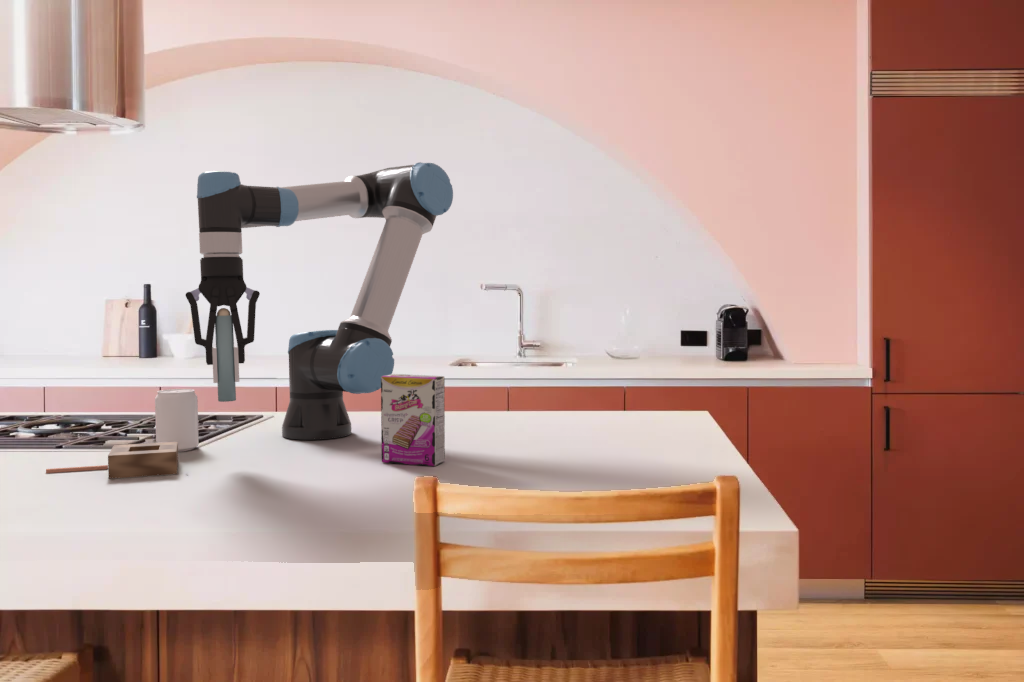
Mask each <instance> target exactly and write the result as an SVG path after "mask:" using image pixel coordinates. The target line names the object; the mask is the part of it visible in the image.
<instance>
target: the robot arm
mask: <svg viewBox="0 0 1024 682" xmlns="http://www.w3.org/2000/svg"><path fill="white" fill-rule="evenodd" d="M196 189H197V190H196V191H197V193H196V199H197V211H198V215H197V216H198V228H199V230H198V231H199V233H198V235H199V236H198V241H199V254H201V255H203V257H201V258H200V259H199V261H200V262H199V263H200V283H199V284H198V288H196V289H195V288H194V290H191V291H187V292H186V293H185V298H186V300H187V301H188V303H189V305H190V307H189V308H190V314H191V321H192V327H193V334H194V335H193V336H194V337H193V338H194V343H195V344H196V345H198V346H201V347H204V349H205V363H206V365H208V366H212V379H213V383H214V384H217V383H218V373H217V348H216V346H213V343H214V334H215V320H216V316H217V312H218V307H223V306H225V307H229V311H230V315H232V319H233V331H234V335H235V339H236V345H234V368H235V383H237V382H238V383H239V382H240V368H239V367H240V364H245V362H246V359H245V357H246V356H245V355H246V354H245V353H246V352H245V347H246V346H247V345H248V344H251V343H254V341H255V329H256V328H255V327H256V308H257V302H258V299H259V298H260V291H258V290H255V289H252V288H249V287H247V284H246V282H245V279H244V259H243V258H242V257H240V255H242V254H243V237H242V236H243V233H242V229H248V228H260V227H276V228H280V227H289V226H292V225H293V224H294V223H295V222H299V221H300V222H302V221H310V220H319V219H324V218H325V219H326V218H334V217H341V216H349V217H351V218H353V219H363V218H379V219H381V218H383V219H385V222H384V226H383V228H382V231H381V234H380V236H379V239H378V242H377V244H376V247H375V250H374V252H373V255H372V258H371V260H370V262H369V266H368V269H367V271H366V274H365V276H364V278H363V281H362V285H361V287H360V290H359V292H358V295H357V297H356V300H355V303H354V306H353V309H352V312H351V314H350V317H349V318H347V319H344V320H342V321H340V323H339V325H338V329H325V330H324V329H323V330H314V331H304V332H298V333H294V334H292V335H291V336H290V338H289V339H288V350H287V354H288V374H289V375H288V376H289V377H288V381H289V385H288V386H289V388H288V389H289V403H288V406H287V410H286V413H285V415H284V419H283V422H282V427H281V431H282V432H281V436H282V437H283V438H285V439H290V440H304V441H305V440H308V441H312V440H314V441H315V440H316V441H317V440H330V439H337V438H343V437H347V436H349V435H351V434H352V422H351V419H350V417H349V413H348V410H347V408H346V404H345V402H344V393H345V392H346V393H350V394H352V395H353V394H356V395H359V394H361V395H362V394H371V393H374V392H376V391H379V390H381V377H382V376H384V375H390V374H393V371H394V366H395V358H394V357H393V356H394V352H393V349H392V348H391V344H392V341H393V339H392V337H391V335H390V334H389V333H390V332H389V329H390V326H391V325H392V324H391V323H392V322H393V318H394V315H395V313H396V310H397V307H398V304H399V302H400V299H401V296H402V293H403V290H404V287H405V285H406V282H407V279H408V276H409V273H410V271H411V269H412V264H413V262H414V260H415V257H416V254H417V251H418V248H419V245H420V243H421V240H422V237H423V235H424V234H427V233H430V232H431V231H432V229H433V227H434V224H435V221H436V219H437V216H442V215H443V214H445V213H447V212H448V211H449V209H450V208H451V206H452V204H453V199H454V189H453V185H452V183H451V179H450V177H449V175H448V174H447V172H446V170H444V169H443V168H442V167H441V166H439V165H438V164H436V163H435V162H433V163H432V162H421V161H420V162H416V163H414V164H408V165H401V166H393V167H387V168H383V169H379V170H375V171H371V172H368V173H363V174H359V175H350V176H348V177H346V178H345V179H344V180H343V181H332V182H322V183H311V184H301V185H289V186H276V187H274V186H262V185H261V186H256V185H247V184H241V180H240V176H239V174H238V173H236V172H232V171H225V170H224V171H222V170H220V171H218V170H213V171H212V170H210V171H204V172H202V173H200V174H199V175H198V177H197V188H196ZM200 294H202V296H203V297H204V298H205V300H206V301H207V302H208V303H209V314H208V321H207V329H206V337H205V338H202V331H201V330H202V329H201V323H200V317H199V315H200V314H199V307H198V301H199V300H200ZM244 294H246V297H245V298H246V299H247V300H248V308H247V327H246V328H247V330H246V337H244V335H243V334H244V333H243V331H242V326H241V325H242V324H241V321H240V316H239V312H238V306H237V303H238V302H239V300H240V299H241V298H242V296H243V295H244Z"/></svg>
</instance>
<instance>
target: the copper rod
mask: <svg viewBox="0 0 1024 682" xmlns="http://www.w3.org/2000/svg"><path fill="white" fill-rule="evenodd" d="M98 470H99V471H101V470H108V464H104V465H88V466H71V467H69V466H68V467H57V468H56V467H54V468H46V470H45V474H52V473H53V474H54V473H67V472H69V473H70V472H82V471H98Z"/></svg>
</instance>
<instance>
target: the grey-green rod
mask: <svg viewBox="0 0 1024 682" xmlns="http://www.w3.org/2000/svg"><path fill="white" fill-rule="evenodd" d="M214 334H215V347H216V348H217V373H218V383H216V384H217V401H218V402H221V403H222V402H223V403H224V402H225V403H226V402H227V403H229V402H235V401H237V393H236V392H237V391H236V382H235V368H234V346H235V342H234V340H235V339H234V335H235V334H234V325H233V319H232V315H231V311H230V309H228V308H227V307H221V308H219V309H217V312H216V320H215V328H214Z"/></svg>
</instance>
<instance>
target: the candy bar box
mask: <svg viewBox="0 0 1024 682" xmlns="http://www.w3.org/2000/svg"><path fill="white" fill-rule="evenodd" d="M445 380H446V379H445V376H442V375H425V374H424V375H423V374H421V375H420V374H406V373H405V374H403V373H392V374H390V375H384V376H382V377H381V388H380V405H381V406H380V407H381V408H380V414H381V415H380V416H381V417H380V418H381V421H380V422H381V431H380V433H381V437H380V438H381V439H380V441H381V463H384V464H399V465H410V466H411V465H413V466H425V467H437V466H439V465H441V464H443V463H445V461H446V455H445V454H446V452H445V451H446V448H445V446H446V445H445V444H446V443H445V440H446V439H445V438H446V437H445V436H446V435H445V433H446V431H445V425H446V424H445V417H446V416H445V413H446V412H445V411H446V409H445V390H446V389H445V386H446V385H445V383H446V382H445Z"/></svg>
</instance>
